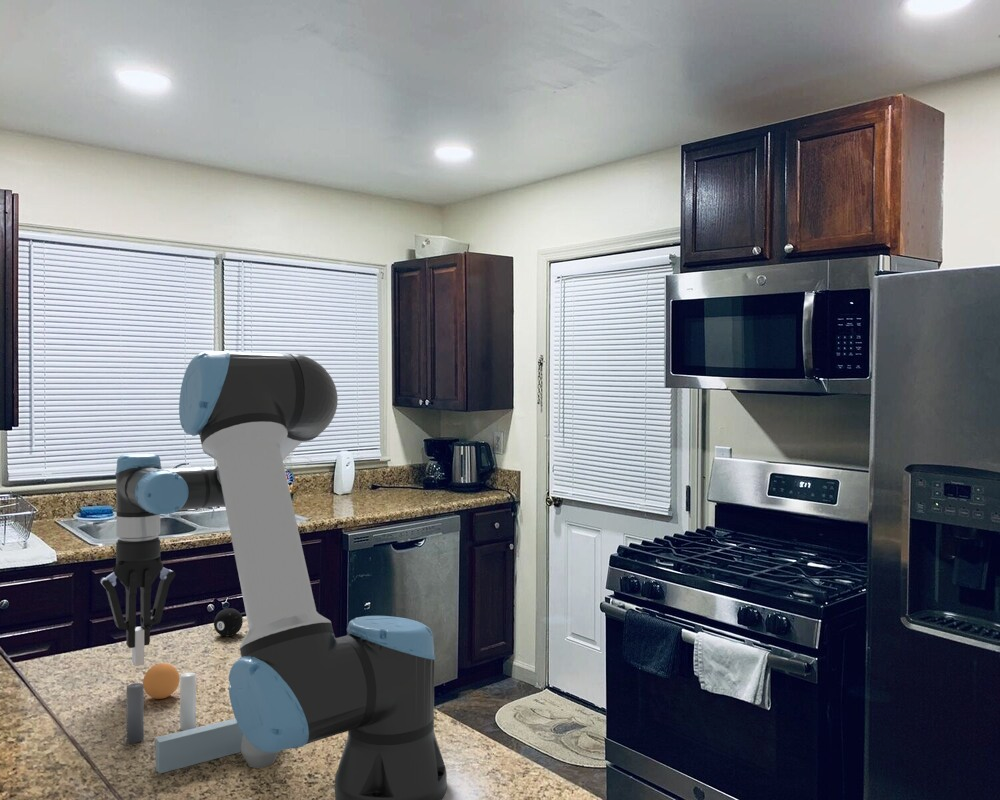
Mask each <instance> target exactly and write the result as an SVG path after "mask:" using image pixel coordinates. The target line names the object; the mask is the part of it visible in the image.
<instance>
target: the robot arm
mask: <svg viewBox="0 0 1000 800" xmlns="http://www.w3.org/2000/svg"><path fill="white" fill-rule="evenodd" d="M179 393H180V394H179V401H178V403H179V404H178V413H179V414H178V415H179V423H180V426H181V428H182V429H183V432H184V433H185V434H187V435H191V436H192V437H197V436H199V438H200V442H201V448H202V451H203V453H204V454H205V455H207V456H209V457H211V458H213V459H214V460H216V465H212V466H211V465H210V466H197V467H194V466H193V467H192V466H191V467H178V468H174V467H173V468H163V467H162V465H161V463H162V462H161V457H160V456H159V455H158V454H155V453H132V454H131V453H130V454H122V455H120V456H119V457H118V458H117V460H116V471H115V474H114V475H115V477H116V478H115V481H116V482H115V483H116V485H115V489H116V493H115V496H116V497H115V498H116V499H115V500H116V509H115V510H116V523H115V525H116V530H115V531H116V532H115V535H116V537H117V538H118V539H117V540H116V541H115V565H114V566H113V569H112V572H111V573H110V574H108V575H107V576H106V577H105V576H104V577H101V578H100V579H99V582H100V584H101V585H102V586H103V588H104V589H105V591H106V594H107V599H108V603H109V606H110V610H111V613H112V616H113V621H114V625H116V626H115V627H117V628H118V629H119V630H125V631H126V633H125V637H126V639H125V640H126V642H125V644H126V646H127V647H128V648H129V649H131V651H132V652H131V663H132V664H133V665H134V666H135V667H139V666H145V647H146V646H149V645H150V643H151V629H152V627H153V626H154V625H157V624H158V625H159V624H160V623H161V621H162V617H163V613H164V608H165V605H166V602H167V596H168V593H169V588H170V584H171V583H172V581H173V580H174V578H175V577H176V572H175V571H174V570H171V569H170V568H169V569H168V568H166V567H164V564H163V562H162V560H161V538H160V537H159V535H160V534H161V516H165V515H171V514H174V513H176V512H178V511H187V510H195V509H203V508H204V509H205V508H217V507H218V508H219V507H225V513H226V517H227V522H228V526H229V527H228V528H229V532H230V537H231V542H232V548H233V552H234V553H233V554H234V559H235V564H236V569H237V573H238V578H239V583H240V589H241V594H242V599H243V604H244V610H245V611H244V612H245V614H246V619H247V620H246V622H247V625H248V632H247V634H246V635H245V637H244V639H243V640H242V642H241V644H240V645H239V652H240V658H238V660H235V662H234V663H233V664H232V666H231V667H230V670H229V674H228V682H229V686H228V695H229V700H230V701H229V702H230V705H231V709H232V712H233V715H234V718H236V721H237V723H238V725H239V727H240V729H241V731H242V733H243V734H244V736H245V737H246V739H248V740H249V742H250V743H251V744H252V745H253V746H254V747H255V748H257V749H259V750H261V751H263V752H267V753H274V752H278V751H279V752H282V751H285V750H286V751H287V750H291V749H294V750H295V749H299V748H302V747H304V746H306V745H308V744H311V743H314V742H317V741H320V740H323V739H327V738H330V737H333V736H336V735H337V736H338V735H340V734H342V733H346V732H347V739H346V742H345V745H344V748H343V751H342V753H341V757H340V759H339V764H338V766H337V770H336V773H335V777H334V798H335V800H442V798H443V799H444V797H445V794H446V792H447V787H448V786H447V784H448V783H447V782H448V781H447V780H448V779H447V778H448V777H447V774H448V773H447V768H446V765H445V762H444V759H443V756H442V753H441V749H440V746H439V743H438V740H437V737H436V733H435V660H436V655H435V644H434V634H433V632H432V630H431V628H430V627H429V626H428V625H426V624H424V623H422V622H421V621H417V620H414V619H411V618H405V617H397V616H389V615H365V616H359V617H357V616H356V617H355V618H353V619H351V620H350V621H349V622H348V626H347V628H346V632H347V633H348V634H346V635H343V636H339V637H336V636H335V633H334V629H333V625H332V621H331V620H330V619H328V618H327V617H325V616H323V615H322V614H320V613H319V612H318V611H317V607H316V603H315V599H314V595H313V591H312V585H311V580H310V576H309V573H308V567H307V563H306V559H305V555H304V554H305V553H304V549H303V546H302V541H301V535H300V532H299V528H298V523H297V518H296V514H295V509H294V504H293V500H292V496H291V492H290V491H291V490H290V487H289V483H288V479H287V478H288V477H287V474H286V468H285V464H284V460H285V459H286V458H287V457H288V456H290V454H291V453H292V452H293V451H295V450H296V448H297V447H299V446H300V445H301V444H302V443H305V442H310V441H312V440H314V439H316V438H317V437H319V436H320V435H321V434H322V433H323V432H324V431H325V430H326V429H327V428H328V427H329V426H330V424H331V423H332V422H333V419H334V417H335V415H336V412H337V408H338V398H339V397H338V391H337V387H336V384H335V382H334V380H333V378H332V376H331V374H330V373H329V372H328V371H327V370H326V369H325V367H324V366H322V365H321V364H320V363H319V362H317V361H316V360H314V359H312V358H310V357H308V356H305V355H301V354H296V353H275V352H274V353H272V352H271V353H269V352H267V353H266V352H244V351H243V352H241V351H238V352H237V351H230V350H228V349H227V350H225V349H224V350H223V351H202V352H200V353H198V354H196V355H195V356H194V357H193V358H192V359H191V360H190V362H189V363H188V365H187V366H186V369H185V371H184V374H183V377H182V382H181V386H180V392H179ZM158 576H159V578H160V581H159V583H158V587H157V590H156V594H155V595H156V596H155V599H154V604H153V607H152V604H151V603H152V601H151V598H152V597H151V596H152V595H151V594H152V585H153V583H154V582H155V581H156V579H157V578H158ZM117 580H118V581H119V582H120V583H121V584H122V585H123V586H124V588H125V589H124V590H125V619H124V615H123V612H122V608H121V604H120V601H119V596H118V593H117V589H116V588H115V586H117ZM138 588H139V589H140V626H137V592H138V591H137V589H138ZM151 609H152V610H151Z"/></svg>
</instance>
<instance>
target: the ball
mask: <svg viewBox="0 0 1000 800" xmlns="http://www.w3.org/2000/svg"><path fill="white" fill-rule="evenodd" d="M142 684H143V685H144V692H145V693H146V694H147V696H149V697H150V698H153V699H156V700H161V699H165V698H168V697H170V696H171V695H173V694H174V692H176V690H177V689H178V687H179V686H180V673H179V672H178V669H177V668H176V667H175V666H173V664H170V663H167V662H162V663H157V664H155V665H153V666H151V667H150V668H149V669H148V670H147V671H146V673H145V674H144V677H143V679H142Z"/></svg>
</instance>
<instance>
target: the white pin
mask: <svg viewBox="0 0 1000 800" xmlns="http://www.w3.org/2000/svg"><path fill="white" fill-rule="evenodd" d="M193 728H197V674H196V673H195V672H185V673H182V674H179V729H180V730H181V731H185V730H189V729H193Z"/></svg>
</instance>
